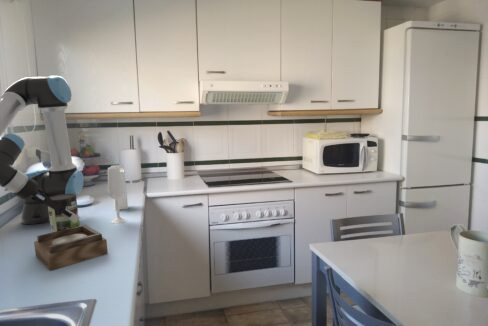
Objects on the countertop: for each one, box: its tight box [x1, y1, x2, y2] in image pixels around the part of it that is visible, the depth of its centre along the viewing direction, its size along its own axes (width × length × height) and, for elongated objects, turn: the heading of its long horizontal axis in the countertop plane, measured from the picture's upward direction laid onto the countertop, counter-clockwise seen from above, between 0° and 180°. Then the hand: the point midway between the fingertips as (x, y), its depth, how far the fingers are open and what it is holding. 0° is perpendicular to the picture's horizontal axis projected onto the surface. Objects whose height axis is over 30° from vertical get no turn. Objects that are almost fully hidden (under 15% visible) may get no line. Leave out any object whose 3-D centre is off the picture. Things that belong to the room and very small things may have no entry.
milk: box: [110, 164, 129, 211], centre depth 185 cm, size 6×6×22 cm
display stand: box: [33, 224, 109, 271], centre depth 126 cm, size 18×18×7 cm
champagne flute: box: [107, 166, 127, 224], centre depth 163 cm, size 7×7×24 cm
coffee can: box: [48, 194, 81, 233], centre depth 143 cm, size 10×10×14 cm
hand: (72, 217), depth 145 cm, fingers closed on coffee can, 10 cm apart
